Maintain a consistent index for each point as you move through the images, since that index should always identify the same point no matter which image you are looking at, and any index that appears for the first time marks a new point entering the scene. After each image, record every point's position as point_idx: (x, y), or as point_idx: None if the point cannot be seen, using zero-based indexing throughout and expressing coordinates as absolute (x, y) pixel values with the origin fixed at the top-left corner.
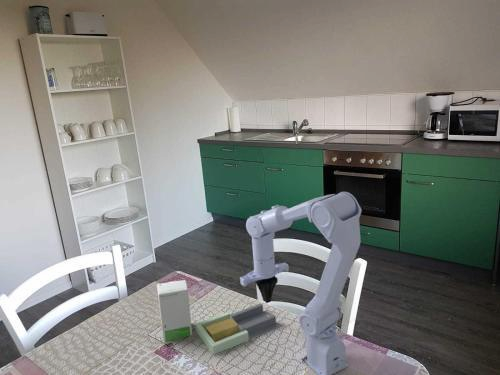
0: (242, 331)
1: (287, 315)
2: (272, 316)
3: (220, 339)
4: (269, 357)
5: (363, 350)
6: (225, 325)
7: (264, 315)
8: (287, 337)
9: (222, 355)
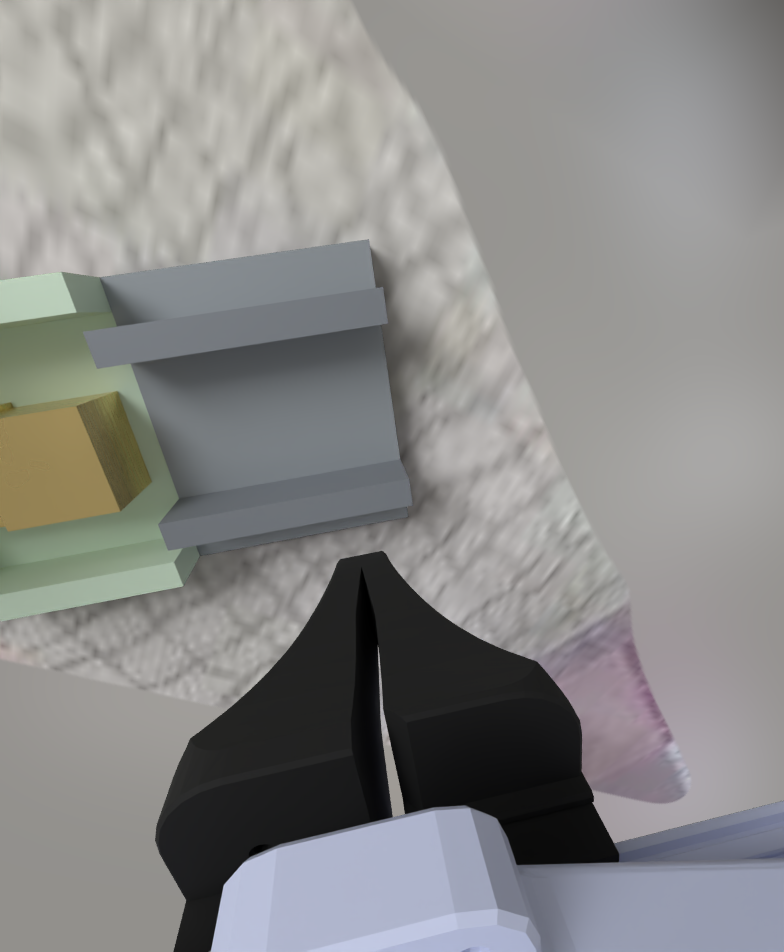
0: (147, 566)
1: (516, 386)
2: (394, 495)
3: None
4: (278, 654)
5: (624, 715)
6: (11, 484)
7: (375, 361)
8: (415, 564)
9: None
